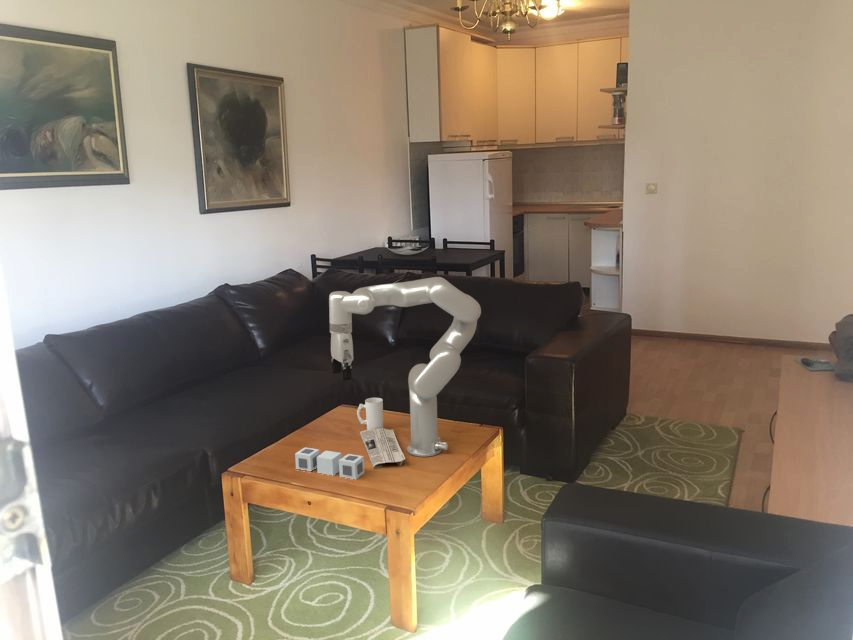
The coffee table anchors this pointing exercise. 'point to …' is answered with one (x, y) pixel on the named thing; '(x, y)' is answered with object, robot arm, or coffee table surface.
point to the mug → (372, 413)
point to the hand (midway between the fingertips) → (341, 376)
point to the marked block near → (351, 466)
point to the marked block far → (307, 459)
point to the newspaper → (382, 446)
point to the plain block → (328, 462)
